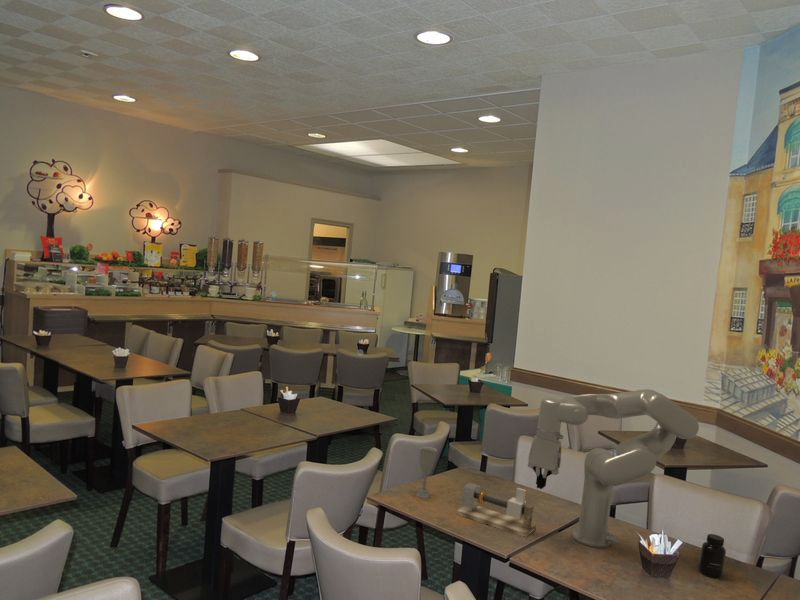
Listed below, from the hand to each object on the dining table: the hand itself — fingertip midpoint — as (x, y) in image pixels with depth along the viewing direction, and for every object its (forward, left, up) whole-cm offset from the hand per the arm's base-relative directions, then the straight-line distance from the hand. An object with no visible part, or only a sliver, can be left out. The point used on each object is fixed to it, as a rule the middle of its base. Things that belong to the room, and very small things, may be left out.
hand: (540, 487), depth 216 cm
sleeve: (+8, 0, -12) cm, 14 cm away
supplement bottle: (-53, -15, -17) cm, 58 cm away
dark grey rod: (+15, 0, -11) cm, 18 cm away
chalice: (+46, -2, -17) cm, 49 cm away
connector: (+24, 0, -15) cm, 28 cm away
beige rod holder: (+15, 0, -17) cm, 22 cm away
